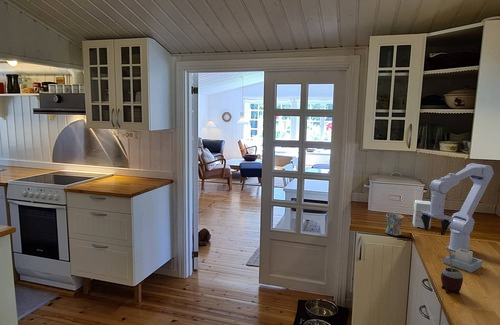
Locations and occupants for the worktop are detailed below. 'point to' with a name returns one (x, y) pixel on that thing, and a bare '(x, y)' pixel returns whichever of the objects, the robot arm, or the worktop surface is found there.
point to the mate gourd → (451, 278)
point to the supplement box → (418, 207)
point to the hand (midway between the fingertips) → (434, 232)
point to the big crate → (464, 264)
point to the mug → (394, 224)
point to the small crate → (464, 256)
